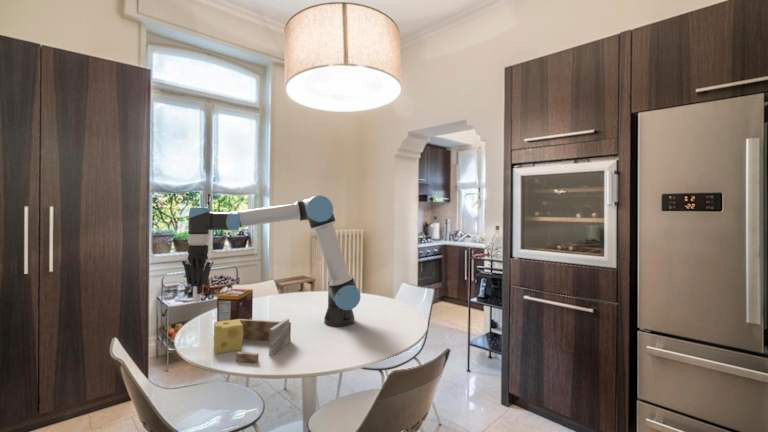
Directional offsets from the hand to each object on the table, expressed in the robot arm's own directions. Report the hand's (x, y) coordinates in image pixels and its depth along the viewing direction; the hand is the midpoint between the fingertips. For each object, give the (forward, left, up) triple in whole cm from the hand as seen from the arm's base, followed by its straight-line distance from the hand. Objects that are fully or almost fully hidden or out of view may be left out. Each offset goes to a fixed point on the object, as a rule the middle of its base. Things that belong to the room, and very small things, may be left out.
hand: (196, 301), depth 146 cm
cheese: (-15, +1, -18) cm, 23 cm away
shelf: (-24, +1, -18) cm, 30 cm away
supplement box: (0, -28, -18) cm, 33 cm away
